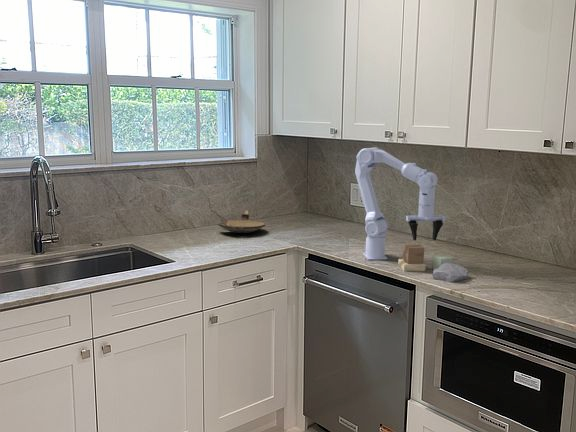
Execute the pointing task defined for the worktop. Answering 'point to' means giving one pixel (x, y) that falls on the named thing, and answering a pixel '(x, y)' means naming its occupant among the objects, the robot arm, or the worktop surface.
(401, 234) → the worktop surface
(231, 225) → the oil lamp
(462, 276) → the stone block
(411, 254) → the walnut cube
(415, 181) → the robot arm
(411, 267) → the oak block
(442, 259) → the sage cube
